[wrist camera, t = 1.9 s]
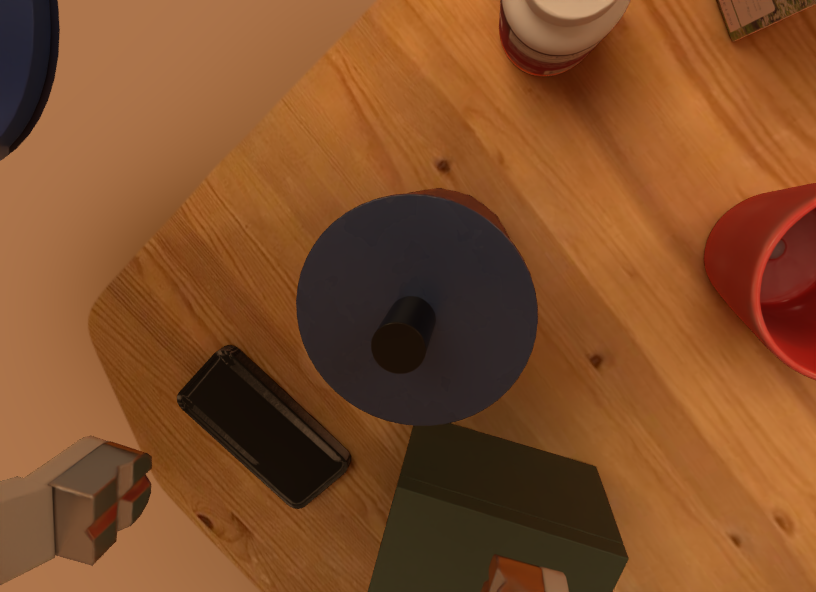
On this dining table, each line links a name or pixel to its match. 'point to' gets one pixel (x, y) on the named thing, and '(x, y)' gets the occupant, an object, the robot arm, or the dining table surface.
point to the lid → (417, 309)
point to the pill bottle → (555, 31)
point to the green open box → (493, 515)
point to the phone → (263, 427)
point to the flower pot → (771, 271)
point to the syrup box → (757, 14)
